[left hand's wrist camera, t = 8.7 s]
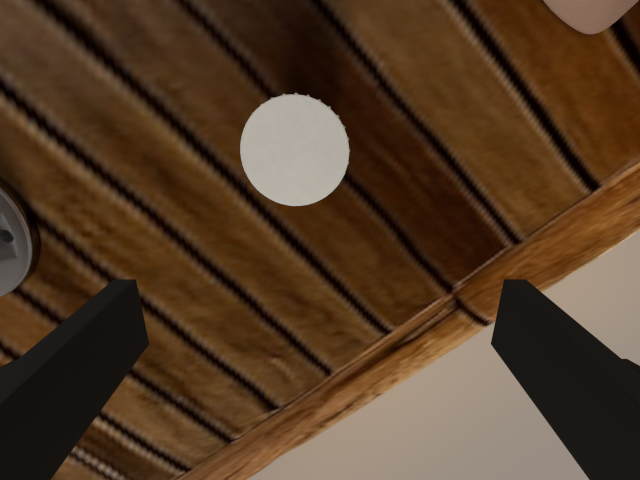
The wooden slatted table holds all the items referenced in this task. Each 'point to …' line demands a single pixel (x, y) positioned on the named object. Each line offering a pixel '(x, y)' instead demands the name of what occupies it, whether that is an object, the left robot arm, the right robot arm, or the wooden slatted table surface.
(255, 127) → the lid
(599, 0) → the anatomical model
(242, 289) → the wooden slatted table surface
